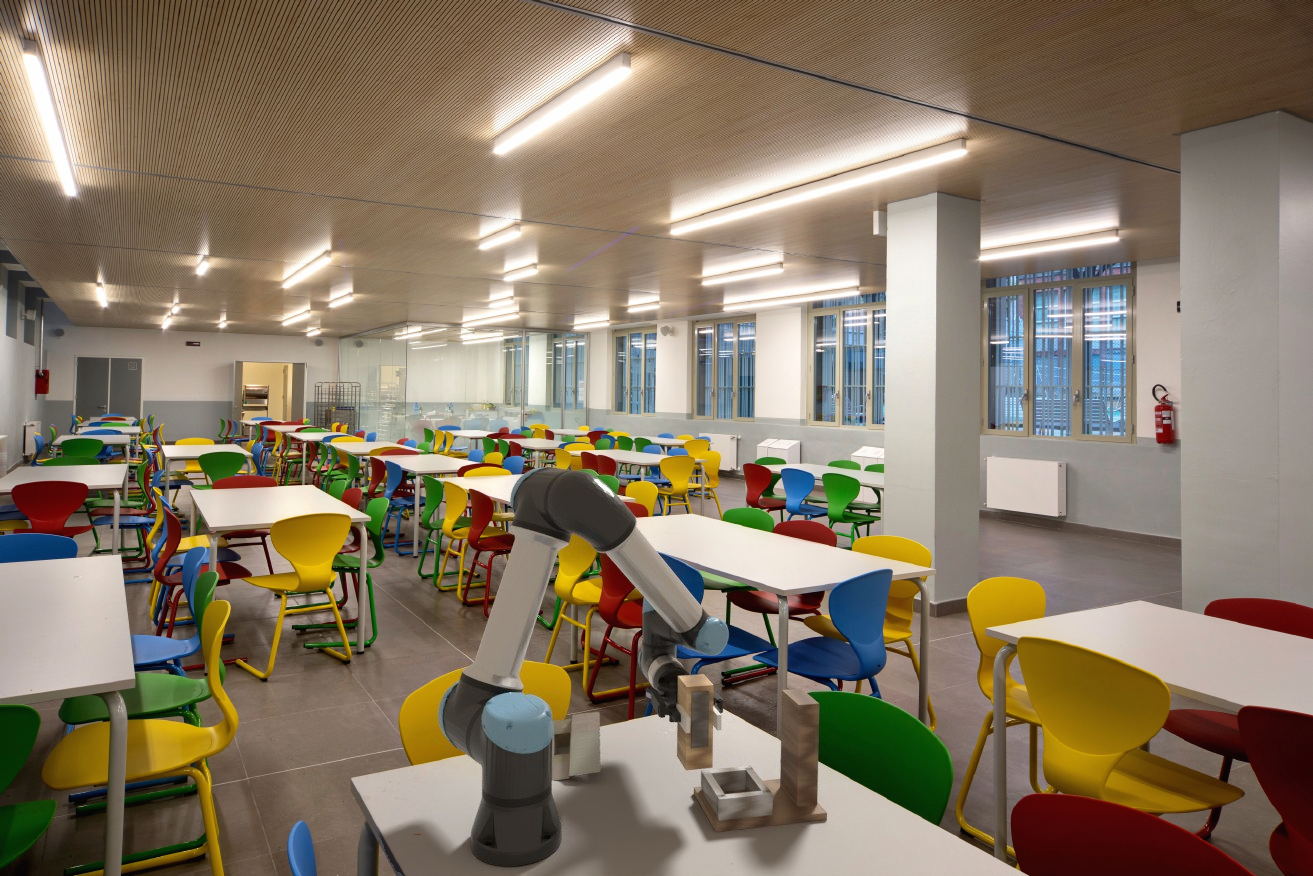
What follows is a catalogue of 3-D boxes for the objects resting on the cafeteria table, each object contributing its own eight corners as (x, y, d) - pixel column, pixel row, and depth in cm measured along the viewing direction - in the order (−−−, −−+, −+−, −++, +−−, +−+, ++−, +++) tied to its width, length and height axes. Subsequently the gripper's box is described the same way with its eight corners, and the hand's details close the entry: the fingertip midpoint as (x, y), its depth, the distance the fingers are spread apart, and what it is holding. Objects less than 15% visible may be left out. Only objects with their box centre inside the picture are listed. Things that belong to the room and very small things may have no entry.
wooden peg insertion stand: (715, 832, 132) (717, 718, 132) (693, 793, 146) (695, 690, 145) (826, 819, 137) (829, 709, 137) (795, 783, 151) (797, 683, 150)
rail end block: (686, 771, 135) (687, 687, 135) (676, 756, 141) (677, 676, 141) (713, 768, 136) (714, 685, 136) (702, 753, 142) (703, 674, 142)
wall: (609, 790, 155) (607, 720, 166) (602, 772, 149) (600, 701, 160) (530, 800, 156) (533, 730, 167) (519, 783, 150) (523, 711, 161)
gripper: (711, 695, 158) (751, 740, 136) (627, 701, 154) (653, 750, 131) (712, 659, 158) (752, 699, 136) (627, 664, 154) (654, 707, 131)
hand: (703, 724), depth 134 cm, fingers closed on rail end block, 5 cm apart
